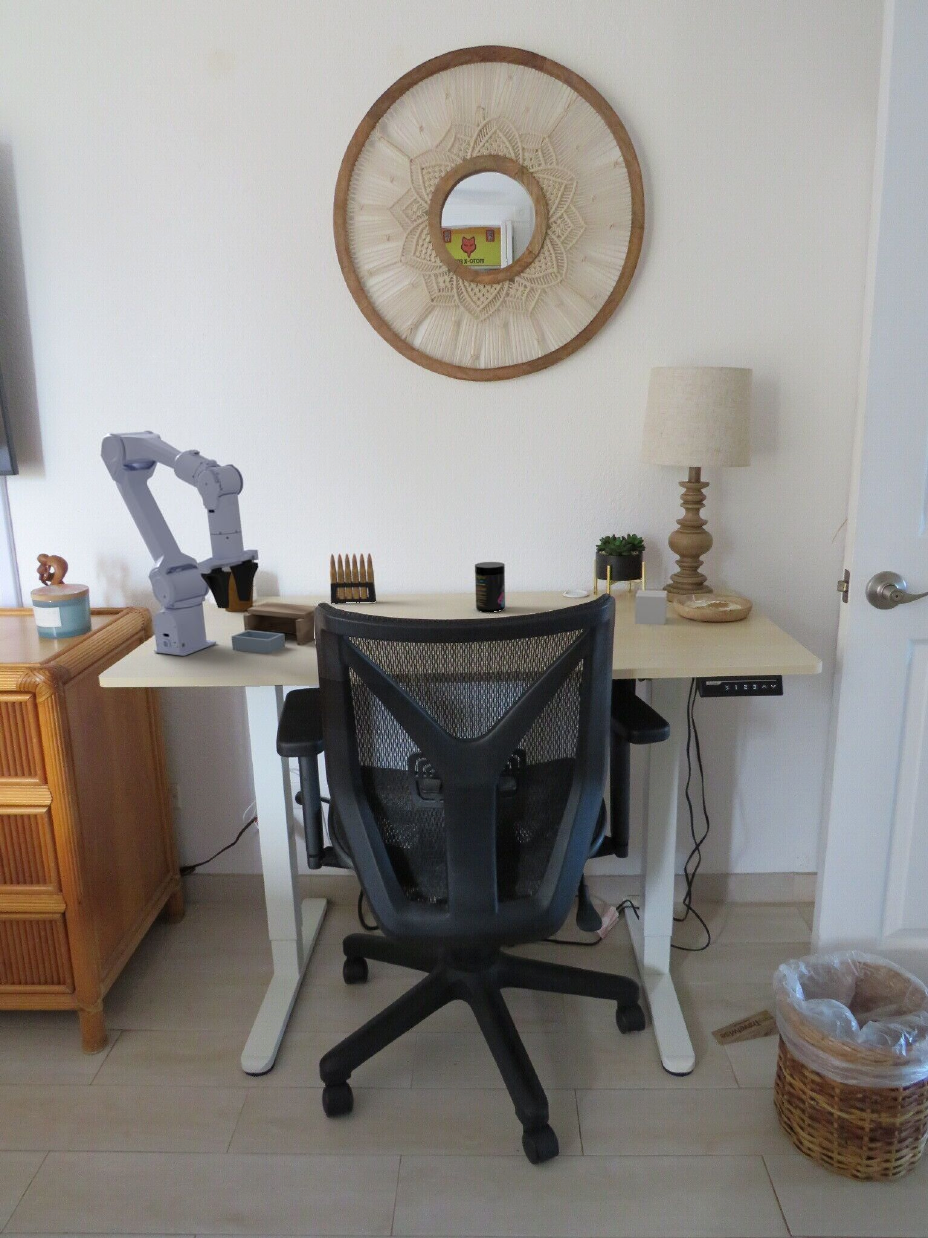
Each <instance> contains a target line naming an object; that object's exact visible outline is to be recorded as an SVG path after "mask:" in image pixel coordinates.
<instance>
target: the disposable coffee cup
mask: <svg viewBox="0 0 928 1238" xmlns="http://www.w3.org/2000/svg"><path fill="white" fill-rule="evenodd" d="M252 562H255V560H252ZM227 564H228V563H227ZM222 570H224V572H231V570H230V568H229V567H226V568H222ZM254 579H255V578H254ZM254 579H253V583H252V589H251V596H250V601H239V599H238V595H237V589H236V584H235V580H234V577H233V574H232V572H231V576H230V581H229V608H227V609H224V610H225V611H226V612H230V613H239V612H241V613H242V612H246V610H247V611H248V609H249V608H252V607H254V606H253V605H254V583H255V582H254Z"/></svg>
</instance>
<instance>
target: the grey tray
mask: <svg viewBox="0 0 928 1238" xmlns="http://www.w3.org/2000/svg"><path fill="white" fill-rule="evenodd" d="M231 646H232V647H231V648H232V650H233V651H234V650H235V651H241V650H242V652H243V651H244V652H249V653H259V654H268V655H271V654H273V653H276V652H277V651H280V650H282V649H284V648H286V639H285V633H281V632H272V631H269V632H262V631H252V630H246V631H245V630H244V631H242V632H239V633H236V634H234V635H231Z"/></svg>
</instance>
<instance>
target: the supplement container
mask: <svg viewBox="0 0 928 1238" xmlns="http://www.w3.org/2000/svg"><path fill="white" fill-rule="evenodd" d="M505 566H506V565H505V563H503V562H501V561H500V562H499V561H483V562H477V563H476V564H474V579H475V580H474V581H475V583H474V584H475V585H474V587H475V608H476V610H477V611H478V612H480V611H481V612H480V613H484V612H494V611H499V610H503V609H504V610H506V609H505V608H506V576H505V574H506V573H505V572H506V570H505V568H506V567H505ZM504 610H503V611H504Z"/></svg>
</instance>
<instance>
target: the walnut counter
mask: <svg viewBox="0 0 928 1238" xmlns="http://www.w3.org/2000/svg"><path fill="white" fill-rule="evenodd" d="M315 607H316V605H307V604H306V605H304V604H295V603H294V604H293V603H284V602H283V603H282V602H273V601H272V602H271V601H267V602H264V603H260V604H258V605H255V606H253V607H252V608H249V609H248V610H247V613H246V614H243V616H242V618H243V625H244V631H246V630H252V631H262V632H276V633H288V634H295V633H297V634H296V642H297V646H303V645H306V644H307V642H308V643H310V642H313V641H314V609H315Z"/></svg>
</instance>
